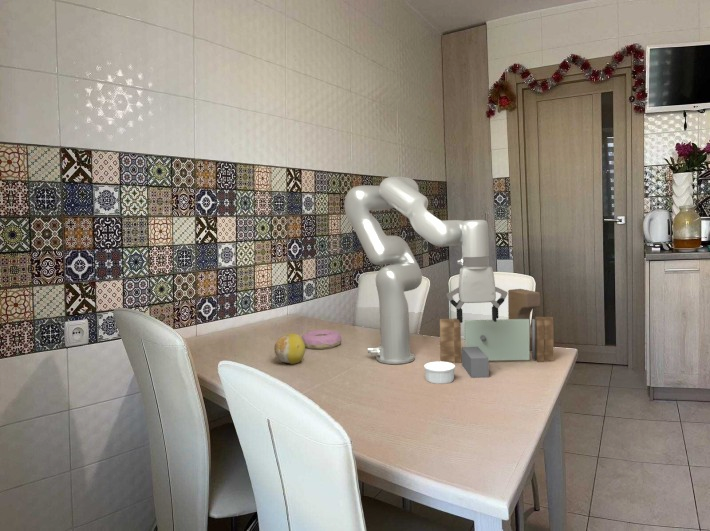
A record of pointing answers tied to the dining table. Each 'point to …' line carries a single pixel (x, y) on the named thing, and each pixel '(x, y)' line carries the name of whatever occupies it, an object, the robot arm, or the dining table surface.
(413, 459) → the dining table surface
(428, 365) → the ramekin
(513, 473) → the dining table surface
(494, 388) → the dining table surface
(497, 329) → the door
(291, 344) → the fruit
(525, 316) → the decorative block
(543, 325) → the frame
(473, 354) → the grey block
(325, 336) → the donut
